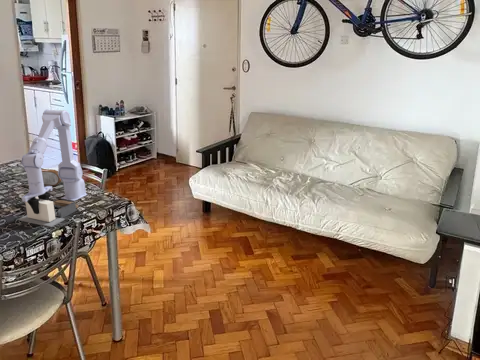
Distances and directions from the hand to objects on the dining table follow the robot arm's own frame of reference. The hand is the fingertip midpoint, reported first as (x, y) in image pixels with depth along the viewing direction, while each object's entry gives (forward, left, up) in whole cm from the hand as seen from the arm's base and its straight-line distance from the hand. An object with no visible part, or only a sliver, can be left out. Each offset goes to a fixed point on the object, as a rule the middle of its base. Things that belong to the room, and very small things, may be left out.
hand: (40, 211), depth 191 cm
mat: (0, 0, -4) cm, 4 cm away
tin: (-35, -31, -4) cm, 47 cm away
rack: (-9, -2, -4) cm, 10 cm away
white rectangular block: (0, 0, -3) cm, 3 cm away
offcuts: (-16, -2, -4) cm, 17 cm away
